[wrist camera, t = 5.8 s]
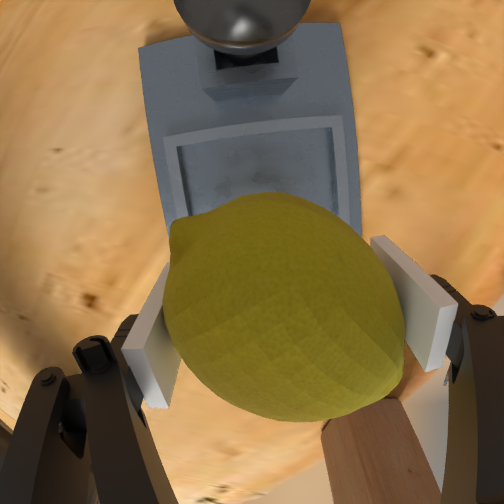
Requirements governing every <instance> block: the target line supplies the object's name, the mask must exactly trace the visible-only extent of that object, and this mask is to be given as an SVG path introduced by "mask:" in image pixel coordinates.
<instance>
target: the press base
mask: <svg viewBox="0 0 504 504" xmlns="http://www.w3.org/2000/svg"><path fill="white" fill-rule="evenodd" d="M138 51H139V61H140V70H141V78H142V87H143V94H144V102H145V109H146V116H147V123H148V130H149V136H150V142H151V148H152V154H153V160H154V166H155V171H156V177H157V182H158V187H159V193H160V198H161V203H162V208H163V213H164V217H165V222H166V227H167V231H168V236H169V231H170V225H171V223H172V222H173V221H174V220H176V219H179V218H182V217H187V216H194V215H198V214H202V213H206V212H209V211H211V210H213V209H215V208H217V207H219V206H221V205H223V204H225V203H227V202H229V201H231V200H233V199H235V198H237V197H240V196H243V195H249V194H255V193H261V192H284V193H287V194H291V195H295V196H298V197H301V198H304V199H306V200H308V201H310V202H313V203H315V204H317V205H319V206H322V207H324V208H325V209H327V210H329V211H330V212H332V213H333V214H335V215H337V216H338V217H340V218H341V219H342V220H343V221H344V222H346V223H347V224H348V225H349V226H351V227H352V228H353V229H354V230H355V231H356V232H357V233H358V234H359V235H360V237H361V202H360V181H359V165H358V151H357V140H356V129H355V119H354V110H353V102H352V94H351V87H350V80H349V73H348V66H347V60H346V54H345V48H344V43H343V37H342V32H341V27H340V23H300V24H299V25H298V27H297V29H296V30H295V32H294V33H293V34H292V35H291V36H290V37H289V38H288V39H287V40H286V41H284V42H283V43H282V44H280V45H278V46H277V47H275V48H273V49H270V50H268V51H264V52H262V56H261V58H260V59H259V61H258V62H257V63H255V64H254V65H251V66H243V67H240V66H237V65H234V64H233V63H231V62H230V61H229V59H228V57H227V55H226V53H223V52H219V51H216V50H214V49H211V48H209V47H207V46H206V45H204V44H203V43H201V42H200V41H198V40H197V39H196V38H195V37H194V36H193V35H190V36H185V37H180V38H176V39H171V40H167V41H163V42H159V43H155V44H151V45H147V46H144V47H140V48H138Z"/></svg>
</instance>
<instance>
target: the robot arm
mask: <svg viewBox="0 0 504 504" xmlns="http://www.w3.org/2000/svg"><path fill="white" fill-rule="evenodd" d="M371 249H372V250H373V251H374V252H375V253H376V255H377V256H378V257H379V259H380V260H381V262H382V263H383V265H384V267H385V268H386V270H387V272H388V273H389V275H390V277H391V278H392V281H393V283H394V286H395V289H396V292H397V295H398V298H399V302H400V305H401V309H402V313H403V317H404V323H405V341H406V343H407V344H408V346H409V347H410V349H411V351H412V352H413V354H414V355H415V357H416V359H417V360H418V362H419V363H420V365H421V367H422V368H423V370H424V371H425V372H428V371H431V370H434V369H438V368H441V367H442V366H443V363H444V359H445V356H446V355H447V356H448V358H449V359H450V360H451V363H450V366H449V369H448V372H447V375H446V378H445V381H444V386H446V384H447V381H448V380H449V417H448V440H447V453H446V464H445V474H444V481H443V488H442V495H441V501H440V504H504V316H497V315H496V313H495V311H493V310H492V309H491V308H489V307H487V306H484V305H472V304H470V303H469V302H468V301H467V300H466V299H465V298H464V297H463V296H462V295H461V294H460V293H459V292H458V291H456V289H455V288H454V287H452V286H451V285H450V284H449V283H448V282H447V281H446V280H445V279H443V278H441V277H439V276H437V275H435V274H434V275H428V274H427V273H426V272H425V271H424V270H423V269H422V268H421V267H420V266H419V265H418V264H417V263H415V262H414V261H413V260H412V259H411V258H410V257H409V256H408V255H407V254H405V253H404V252H403V251H402V250H401V249H400V248H399V247H398V246H396V245H395V244H394V243H393V242H392V241H391V240H389V239H388V238H387V237H386V236H385V235H384V236H376V237H371ZM169 268H170V262H169V263H167V264H166V266H165V267H164V269H163V271H162V273H161V274H160V276H159V278H158V280H157V282H156V284H155V285H154V287H153V289H152V291H151V293H150V294H149V296H148V298H147V300H146V302H145V304H144V306H143V307H142V309H141V311H140V313H139V314H135V315H130V316H128V317H127V318H126V319H125V320H124V321H123V322H122V323H121V325H120V326H119V328H118V331H117V332H116V334H115V335H114V338H113V339H112V341H111V342H110V343H109V340H108V339H107V338H106V337H104V336H101V335H95V336H90V337H88V338H85V339H83V340H82V341H80V342H79V343H77V345H76V346H75V347H74V348H73V352H72V354H73V355H74V357H75V359H76V361H77V363H78V365H79V367H80V369H81V371H82V373H81V374H77V375H72V376H67V377H65V375H64V373H63V371H62V369H60V368H58V367H49V368H45V369H44V370H42V371H40V372H39V373H38V374H37V375H36V376H35V378H34V379H33V381H32V384H31V386H30V388H29V391H28V393H27V396H26V398H25V401H24V403H23V406H22V409H21V411H20V414H19V417H18V419H17V422H16V425H15V428H14V431H13V430H12V429H11V428H10V427H9V426H7V425H6V424H5V423H4V422H3V421H2V420H1V419H0V504H178V501H177V499H176V497H175V494H174V492H173V490H172V487H171V485H170V483H169V480H168V478H167V475H166V473H165V470H164V468H163V465H162V463H161V460H160V457H159V455H158V452H157V449H156V447H155V444H154V441H153V438H152V435H151V432H150V429H149V426H148V423H147V420H146V417H145V414H144V412H143V410H142V408H141V404H142V401H143V398H144V399H145V401H146V403H147V405H148V407H149V408H169V406H170V402H171V397H172V393H173V389H174V385H175V381H176V377H177V373H178V369H179V365H180V361H181V356H180V354H179V353H178V351H177V350H176V348H175V346H174V345H173V343H172V340H171V338H170V335H169V332H168V330H167V327H166V325H165V320H164V312H163V304H162V300H163V294H164V288H165V283H166V279H167V275H168V272H169Z"/></svg>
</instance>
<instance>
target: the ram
mask: <svg viewBox="0 0 504 504" xmlns="http://www.w3.org/2000/svg"><path fill="white" fill-rule="evenodd" d="M310 1H311V0H174V4H175V6H176V9H177V11H178V12H179V14H180V16H181V17H182V19H183V21H184V22H185V24H186V26H187V27H188V29H189V31H190V32H191V33H192V35H193V36H194V37H195V38H196V39H197V40H198V41H200V42H201V43H203V44H204V45H206V46H207V47H209V48H211V49H214V50H216V51H219V52H223V53H226V55H227V57H228V59H229V61H230V62H231V63H233V64H234V65H237V66H240V67H243V66H251V65H254V64H255V63H257V62H258V61H259V59H260V58H261V56H262V52H264V51H268V50H270V49H273V48H275V47H277V46H278V45H280V44H282V43H283V42H284V41H286V40H287V39H288V38H289V37H290V36H291V35H292V34H293V33H294V32H295V30H296V29H297V27H298V25H299V24H300V22H301V20H302V18H303V16H304V14H305V12H306V10H307V8H308V6H309V4H310Z"/></svg>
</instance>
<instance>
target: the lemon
mask: <svg viewBox="0 0 504 504" xmlns="http://www.w3.org/2000/svg"><path fill="white" fill-rule="evenodd" d="M169 245H170V252H171V255H170V268H169V272H168V275H167V279H166V283H165V288H164V294H163V300H162V304H163V312H164V320H165V325H166V327H167V330H168V332H169V335H170V338H171V340H172V343H173V345H174V346H175V348H176V350H177V351H178V353H179V354H180V356H181V357H182V359H183V361H184V362H185V364H186V365H187V367H188V368H189V369H190V370H191V371H192V372H193V373H194V374H195V375H196V376H197V378H198V379H199V380H200V381H201V382H202V383H203V384H204V385H206V386H207V387H208V388H209V389H210V390H211V391H213V392H214V393H215V394H216V395H217V396H219V397H221V398H222V399H224V400H225V401H227V402H229V403H231V404H232V405H234V406H236V407H239V408H241V409H243V410H246V411H248V412H251V413H253V414H256V415H259V416H262V417H265V418H269V419H274V420H278V421H287V422H314V421H323V420H328V419H333V418H337V417H341V416H344V415H347V414H350V413H352V412H354V411H356V410H358V409H360V408H362V407H364V406H367V405H369V404H372V403H374V402H376V401H379V400H381V399H382V398H384V397H385V396H387V395H388V394H389V393H390V392H391V391H392V390H393V389H394V388H395V387H396V386H397V385H398V383H399V382H400V380H401V378H402V375H403V368H404V342H405V323H404V317H403V313H402V309H401V305H400V302H399V298H398V295H397V292H396V289H395V286H394V283H393V281H392V278H391V277H390V275H389V273H388V272H387V270H386V268H385V267H384V265H383V263H382V262H381V260H380V259H379V257H378V256H377V255H376V253H375V252H374V251H373V250H372V249H371V247H370V246H369V245H368V244H367V243H366V242H365V241H364V240H363V239H362V238H361V237H360V235H359V234H358V233H357V232H356V231H355V230H354V229H353V228H352V227H351V226H349V225H348V224H347V223H346V222H344V221H343V220H342V219H341V218H340V217H338V216H337V215H335V214H333V213H332V212H330V211H329V210H327V209H325V208H324V207H322V206H319V205H317V204H315V203H313V202H310V201H308V200H306V199H304V198H301V197H298V196H295V195H291V194H287V193H284V192H261V193H255V194H249V195H243V196H240V197H237V198H235V199H233V200H231V201H229V202H227V203H225V204H223V205H221V206H219V207H217V208H215V209H213V210H211V211H209V212H206V213H202V214H198V215H194V216H187V217H182V218H179V219H176V220H174V221H173V222H172V223H171V225H170V231H169Z"/></svg>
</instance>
